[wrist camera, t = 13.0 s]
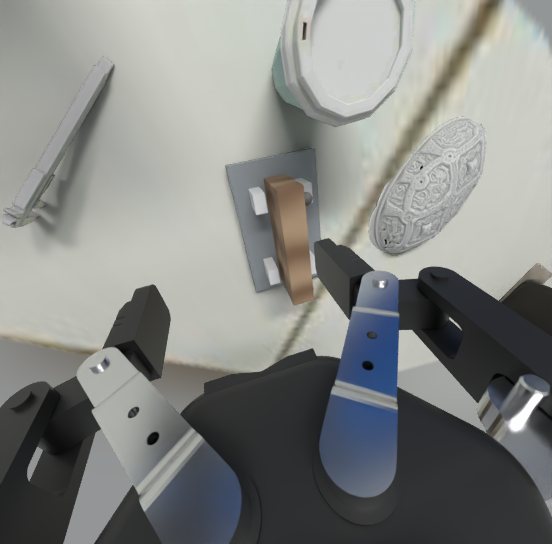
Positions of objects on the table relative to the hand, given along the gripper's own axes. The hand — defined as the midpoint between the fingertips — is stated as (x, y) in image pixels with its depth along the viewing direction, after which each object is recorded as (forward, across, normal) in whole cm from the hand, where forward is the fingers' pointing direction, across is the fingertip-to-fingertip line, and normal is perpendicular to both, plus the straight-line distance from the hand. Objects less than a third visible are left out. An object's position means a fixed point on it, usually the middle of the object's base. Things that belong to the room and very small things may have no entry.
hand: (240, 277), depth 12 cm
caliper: (+26, +15, -7) cm, 31 cm away
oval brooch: (+25, -33, +9) cm, 43 cm away
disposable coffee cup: (+26, -13, -9) cm, 30 cm away
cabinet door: (+23, -7, +9) cm, 26 cm away
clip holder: (+25, -7, +9) cm, 27 cm away
